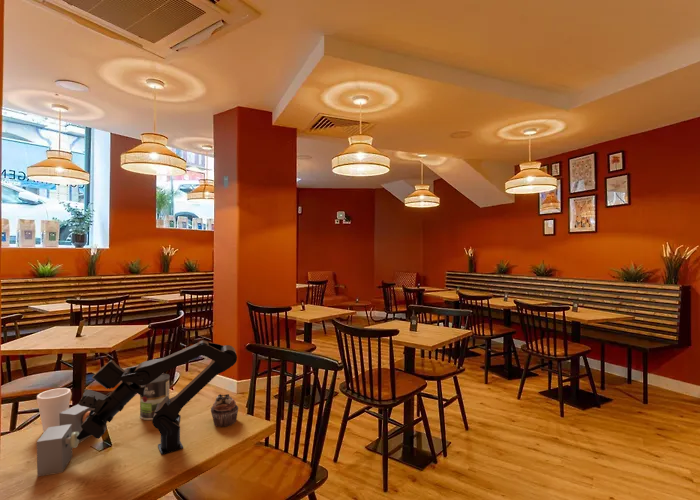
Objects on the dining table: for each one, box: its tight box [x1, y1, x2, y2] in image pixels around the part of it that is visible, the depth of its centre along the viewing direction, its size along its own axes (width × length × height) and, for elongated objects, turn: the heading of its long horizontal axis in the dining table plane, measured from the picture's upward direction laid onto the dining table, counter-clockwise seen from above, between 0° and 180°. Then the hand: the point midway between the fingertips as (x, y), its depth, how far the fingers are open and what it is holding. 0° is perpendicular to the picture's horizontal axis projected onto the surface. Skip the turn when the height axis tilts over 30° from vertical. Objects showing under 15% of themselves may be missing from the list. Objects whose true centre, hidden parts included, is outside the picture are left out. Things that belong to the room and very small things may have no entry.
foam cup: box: [36, 387, 72, 433], centre depth 140 cm, size 10×9×13 cm
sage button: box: [65, 432, 80, 449], centre depth 119 cm, size 6×4×4 cm
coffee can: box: [139, 372, 171, 421], centre depth 152 cm, size 10×10×14 cm
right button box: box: [59, 403, 95, 444], centre depth 135 cm, size 6×9×10 cm, turn 170°
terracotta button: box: [82, 411, 90, 422], centre depth 134 cm, size 6×4×4 cm
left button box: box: [36, 424, 73, 477], centre depth 118 cm, size 6×9×10 cm, turn 20°
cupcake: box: [210, 393, 239, 428], centre depth 146 cm, size 10×10×10 cm
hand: (78, 438), depth 120 cm, fingers closed, pressing on sage button
